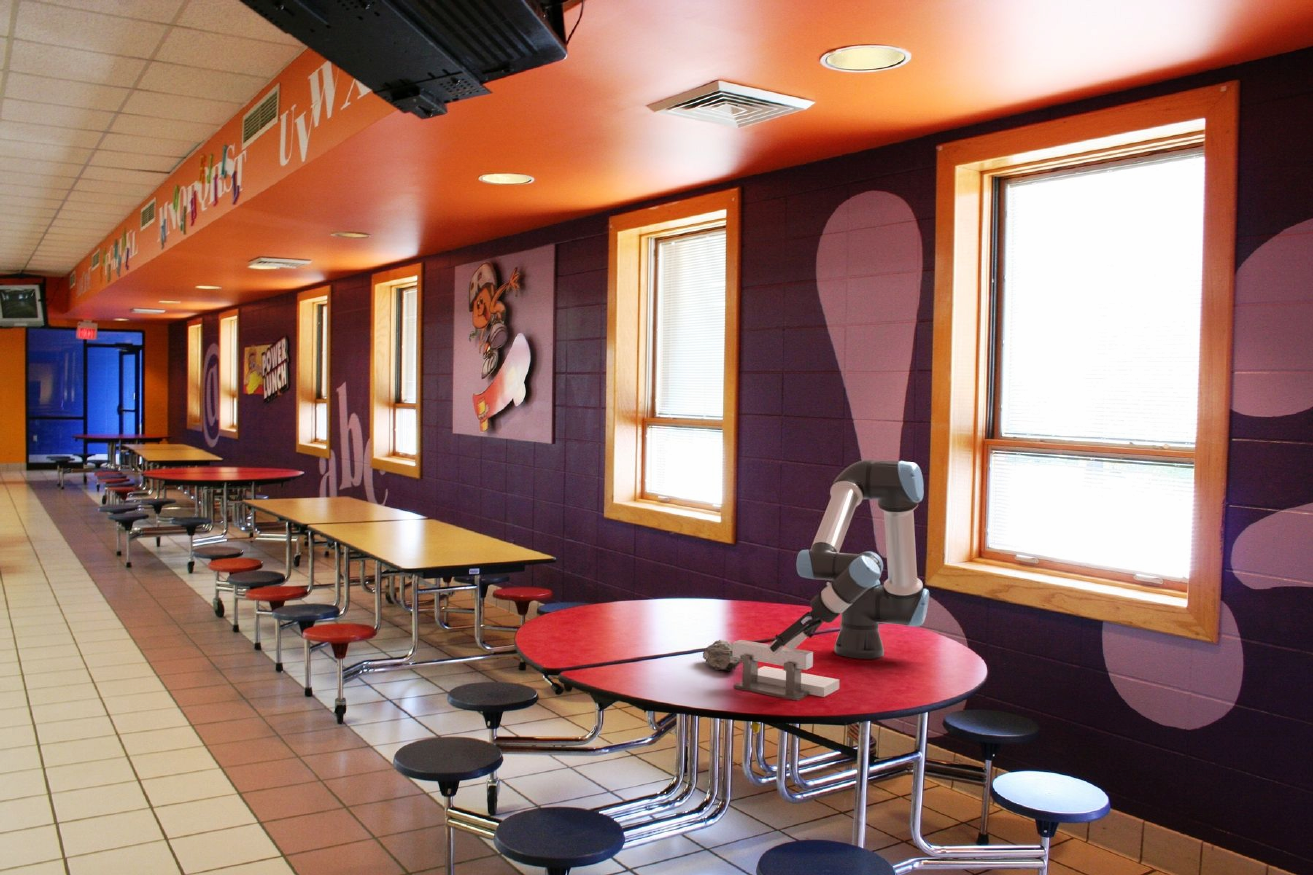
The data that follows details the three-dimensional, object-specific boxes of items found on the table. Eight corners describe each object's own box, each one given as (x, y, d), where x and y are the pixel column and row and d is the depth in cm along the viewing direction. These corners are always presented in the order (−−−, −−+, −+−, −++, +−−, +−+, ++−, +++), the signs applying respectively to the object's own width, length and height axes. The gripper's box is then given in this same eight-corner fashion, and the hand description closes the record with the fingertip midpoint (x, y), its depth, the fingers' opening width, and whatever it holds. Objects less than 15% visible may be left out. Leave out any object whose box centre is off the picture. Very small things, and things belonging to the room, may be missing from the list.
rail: (739, 653, 267) (739, 639, 267) (812, 666, 254) (813, 651, 254) (732, 656, 263) (732, 642, 263) (806, 669, 251) (806, 654, 251)
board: (764, 674, 276) (764, 666, 276) (839, 688, 263) (839, 679, 263) (747, 682, 268) (747, 673, 268) (823, 696, 255) (824, 687, 255)
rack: (746, 682, 267) (747, 649, 267) (809, 694, 256) (810, 660, 256) (733, 687, 261) (734, 654, 261) (797, 700, 251) (798, 665, 251)
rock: (691, 654, 288) (710, 627, 291) (711, 673, 291) (730, 646, 294) (722, 669, 272) (742, 641, 274) (743, 689, 275) (763, 660, 278)
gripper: (840, 585, 261) (788, 632, 270) (800, 597, 240) (746, 648, 249) (858, 607, 258) (805, 654, 267) (819, 621, 237) (763, 672, 246)
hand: (776, 651), depth 258 cm, fingers open, 13 cm apart
